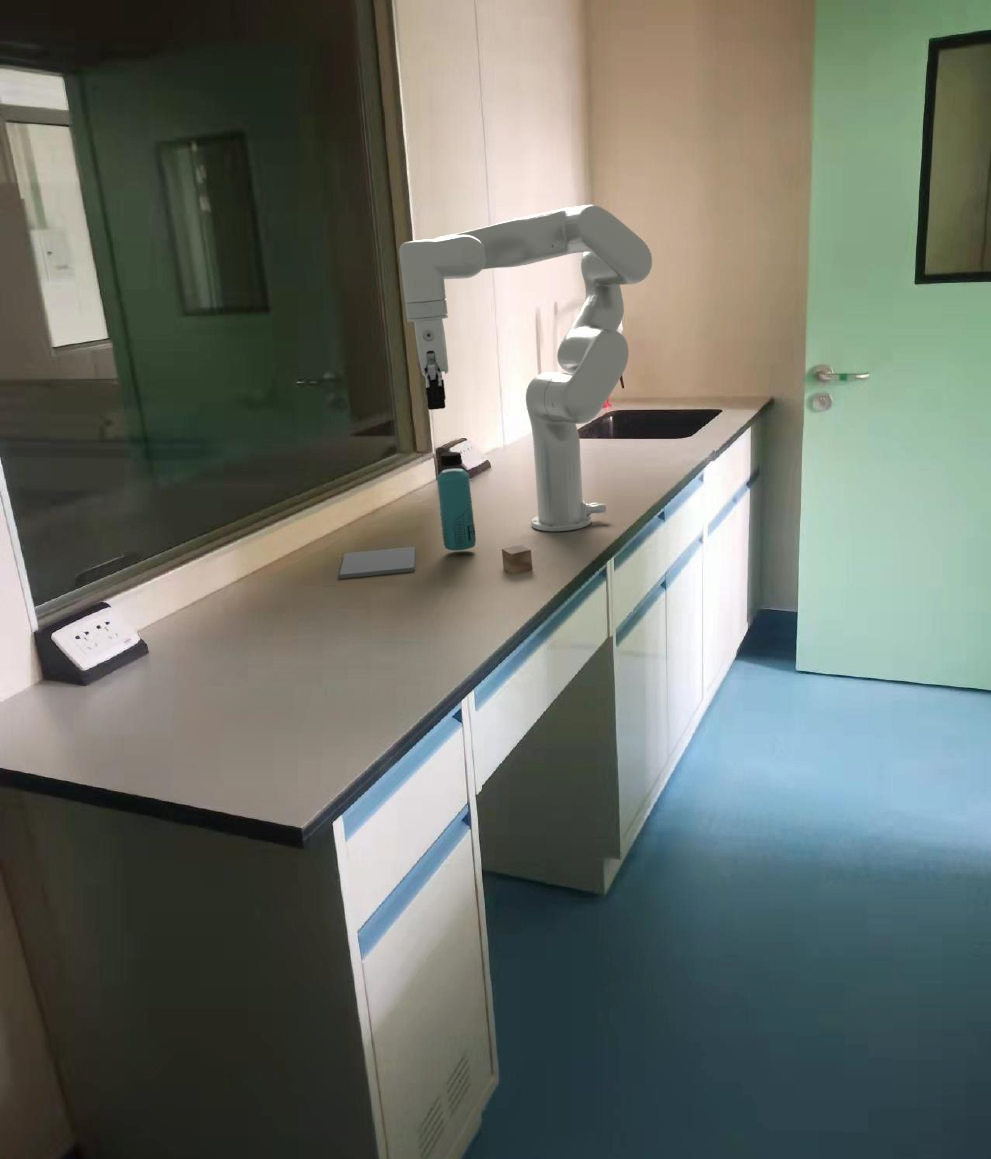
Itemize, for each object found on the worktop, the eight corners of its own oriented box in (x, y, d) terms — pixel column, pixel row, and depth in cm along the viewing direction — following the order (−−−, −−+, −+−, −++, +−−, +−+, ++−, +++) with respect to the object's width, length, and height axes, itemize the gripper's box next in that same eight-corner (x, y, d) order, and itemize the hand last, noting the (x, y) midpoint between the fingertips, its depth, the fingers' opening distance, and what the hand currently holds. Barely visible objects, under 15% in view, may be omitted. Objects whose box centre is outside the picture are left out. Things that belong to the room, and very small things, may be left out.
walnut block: (522, 565, 184) (521, 544, 183) (532, 570, 180) (530, 549, 179) (503, 569, 182) (501, 548, 181) (512, 574, 179) (511, 553, 178)
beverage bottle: (473, 557, 190) (464, 455, 184) (440, 558, 192) (429, 457, 186) (480, 547, 197) (471, 448, 190) (448, 548, 198) (438, 450, 192)
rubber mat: (414, 550, 199) (414, 546, 198) (414, 571, 185) (414, 567, 185) (345, 557, 198) (344, 553, 198) (340, 578, 185) (339, 574, 184)
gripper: (447, 312, 172) (457, 410, 178) (447, 306, 189) (456, 396, 194) (404, 316, 172) (415, 414, 178) (408, 310, 189) (418, 400, 194)
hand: (437, 404), depth 186 cm, fingers open, 9 cm apart
